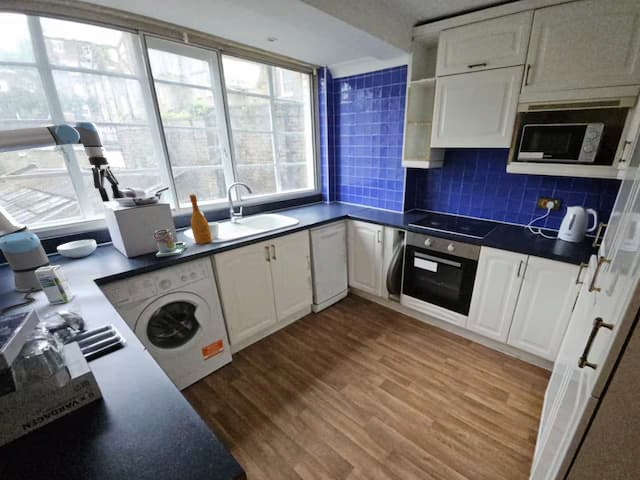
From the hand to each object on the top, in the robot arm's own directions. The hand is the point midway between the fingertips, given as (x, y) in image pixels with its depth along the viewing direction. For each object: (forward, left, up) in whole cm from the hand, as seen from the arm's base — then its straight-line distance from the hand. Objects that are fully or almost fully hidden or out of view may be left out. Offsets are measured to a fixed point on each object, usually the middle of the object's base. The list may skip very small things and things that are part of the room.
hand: (112, 199), depth 156 cm
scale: (-2, -21, -32) cm, 38 cm away
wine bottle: (+12, -36, -32) cm, 49 cm away
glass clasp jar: (-4, -20, -30) cm, 36 cm away
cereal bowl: (+10, +29, -32) cm, 44 cm away
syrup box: (-54, +6, -32) cm, 63 cm away
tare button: (+2, -25, -29) cm, 38 cm away
